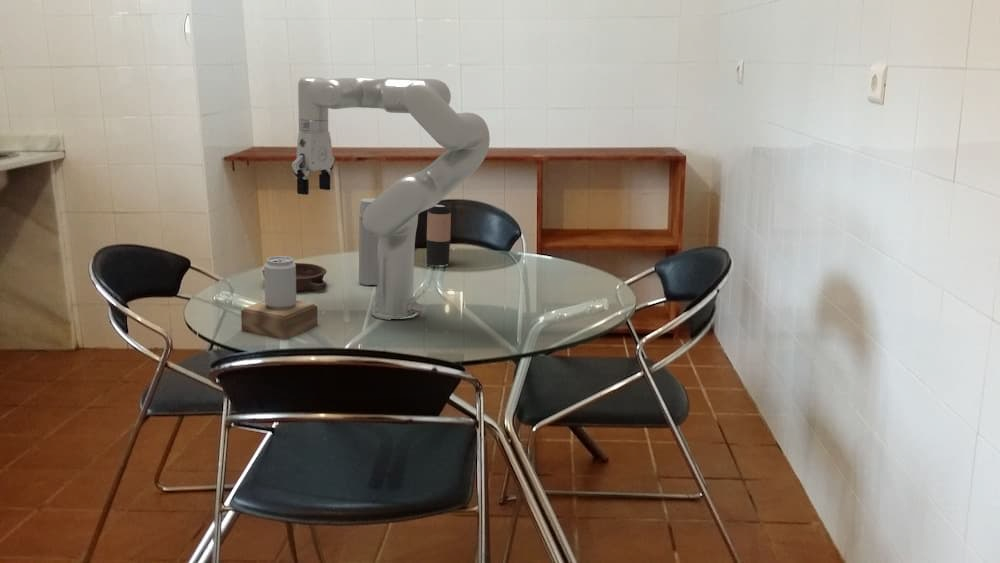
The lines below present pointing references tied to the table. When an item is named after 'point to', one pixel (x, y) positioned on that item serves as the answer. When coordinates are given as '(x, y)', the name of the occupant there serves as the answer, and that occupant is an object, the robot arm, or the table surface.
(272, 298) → the can
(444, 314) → the table surface
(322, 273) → the dish
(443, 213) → the travel mug
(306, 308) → the plinth
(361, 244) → the water bottle
